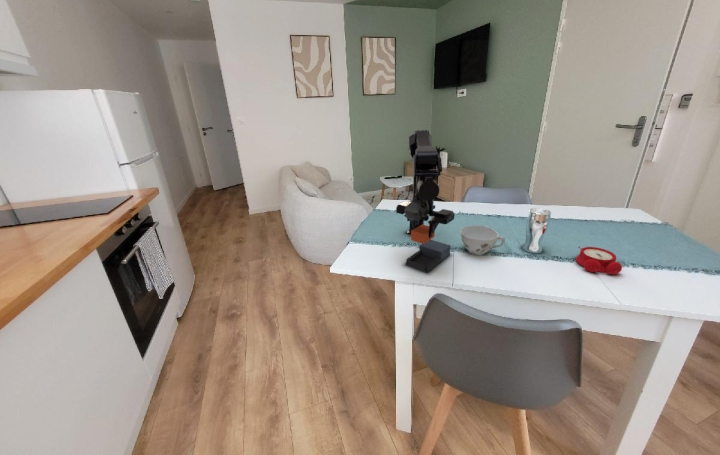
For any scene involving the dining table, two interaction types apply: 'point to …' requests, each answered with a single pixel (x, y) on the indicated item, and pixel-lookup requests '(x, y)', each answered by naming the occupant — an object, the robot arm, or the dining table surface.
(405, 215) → the robot arm
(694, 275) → the dining table surface
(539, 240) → the beer glass
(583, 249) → the alarm clock
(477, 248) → the teacup
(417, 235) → the orange block
